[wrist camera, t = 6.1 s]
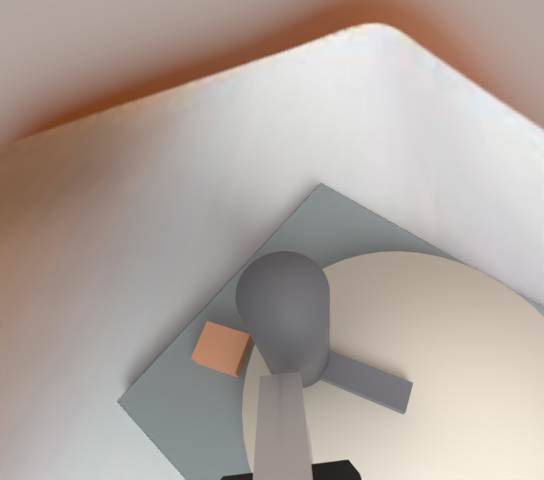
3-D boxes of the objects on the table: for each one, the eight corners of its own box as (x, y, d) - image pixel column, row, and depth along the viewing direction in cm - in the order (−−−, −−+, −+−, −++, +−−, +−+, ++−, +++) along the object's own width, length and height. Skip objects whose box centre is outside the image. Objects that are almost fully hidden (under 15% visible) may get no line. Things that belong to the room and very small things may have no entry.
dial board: (119, 413, 21) (99, 406, 19) (321, 194, 27) (320, 173, 25) (560, 919, 12) (603, 1001, 10) (724, 425, 18) (771, 419, 16)
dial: (264, 266, 23) (231, 156, 15) (534, 272, 20) (657, 147, 13) (231, 590, 15) (134, 699, 8) (637, 648, 13) (1049, 871, 6)
